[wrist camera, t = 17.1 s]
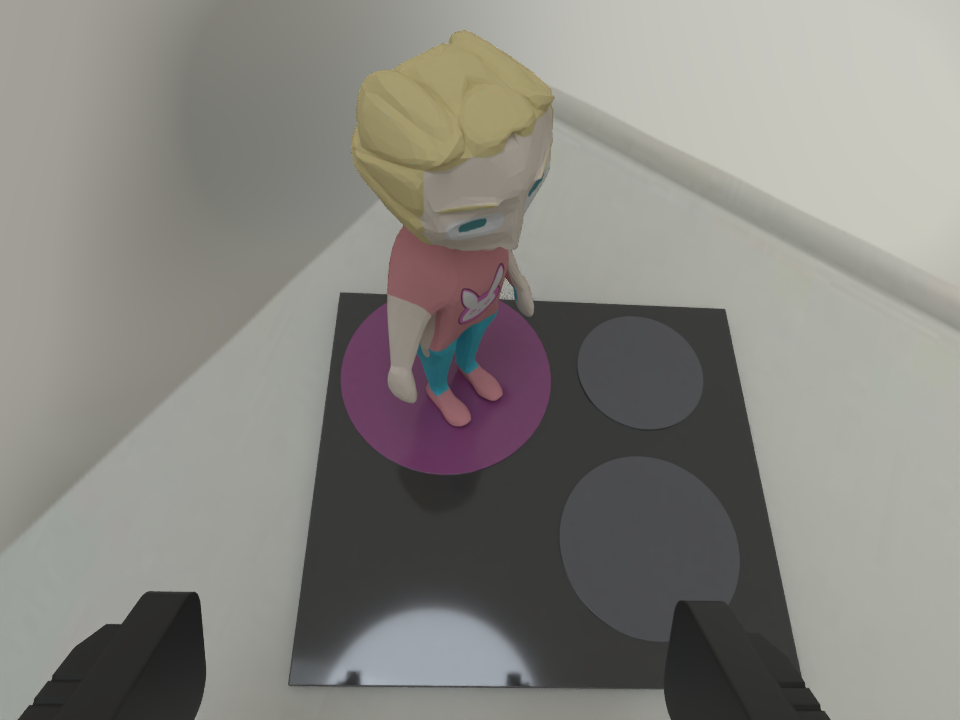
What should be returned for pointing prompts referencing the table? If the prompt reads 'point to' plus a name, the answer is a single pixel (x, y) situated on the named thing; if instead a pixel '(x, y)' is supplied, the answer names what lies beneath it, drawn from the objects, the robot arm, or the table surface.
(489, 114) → the toy
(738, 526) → the hob
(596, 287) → the table surface
